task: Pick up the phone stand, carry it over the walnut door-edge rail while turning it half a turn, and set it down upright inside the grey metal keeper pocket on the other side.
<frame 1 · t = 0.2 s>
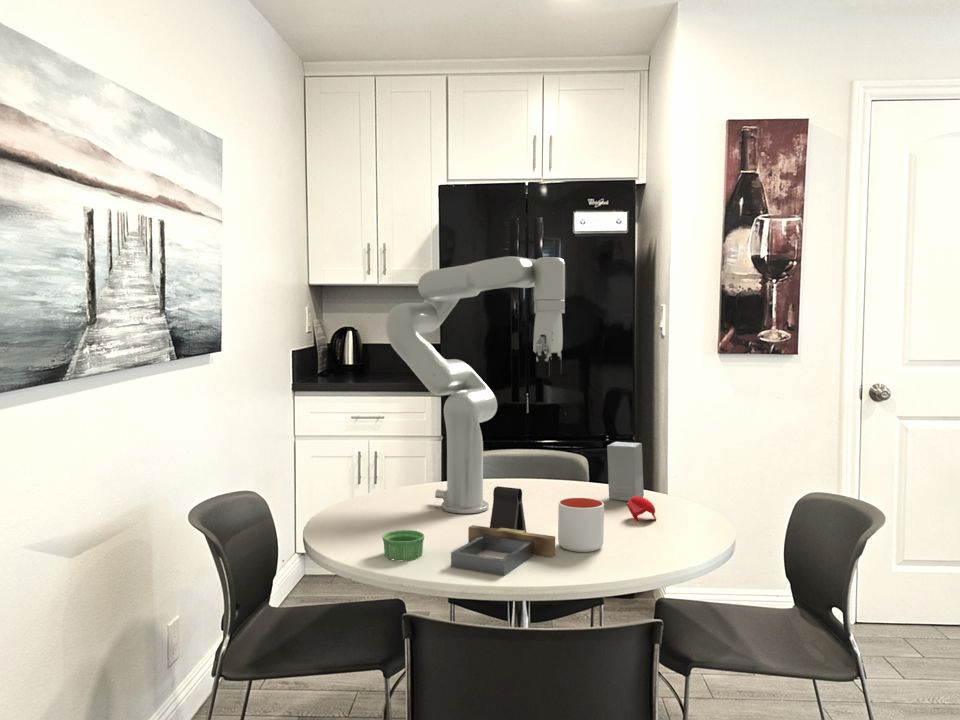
hand: (549, 376, 197), 36 cm above the table, tool pointing down, fingers open, 9 cm apart
skincare box: (625, 499, 222), on the table
ramekin: (403, 556, 170), on the table
door edge rail: (510, 549, 174), on the table
cup: (580, 547, 176), on the table
keeper: (493, 561, 166), on the table
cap: (641, 520, 199), on the table
phone stand: (507, 540, 182), on the table
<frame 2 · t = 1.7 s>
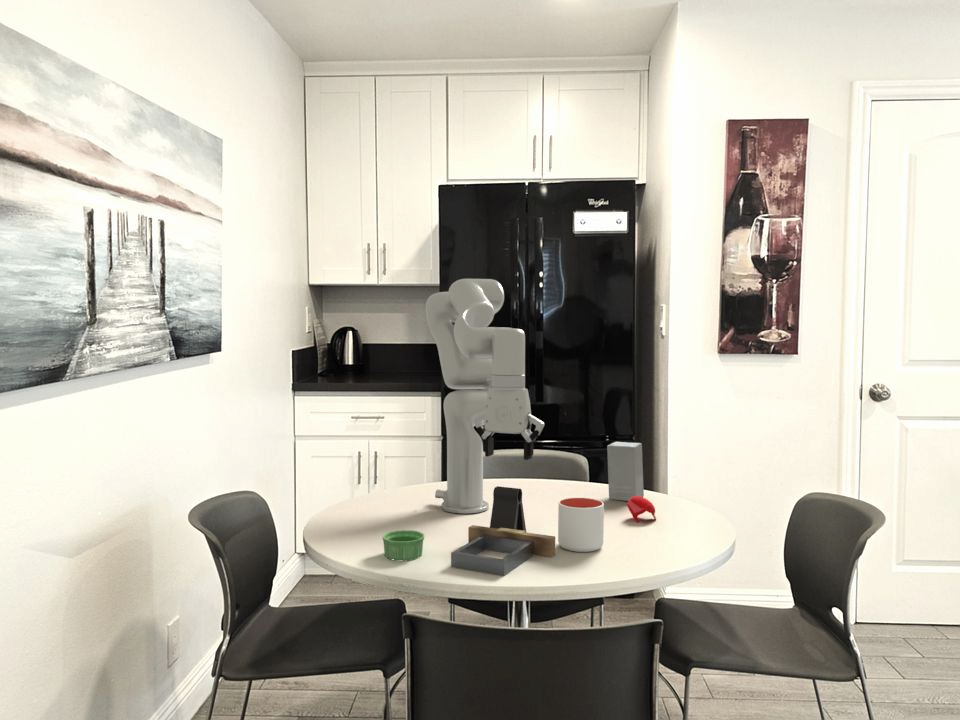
hand: (508, 457, 181), 19 cm above the table, tool pointing down, fingers open, 9 cm apart
nothing on the table moved.
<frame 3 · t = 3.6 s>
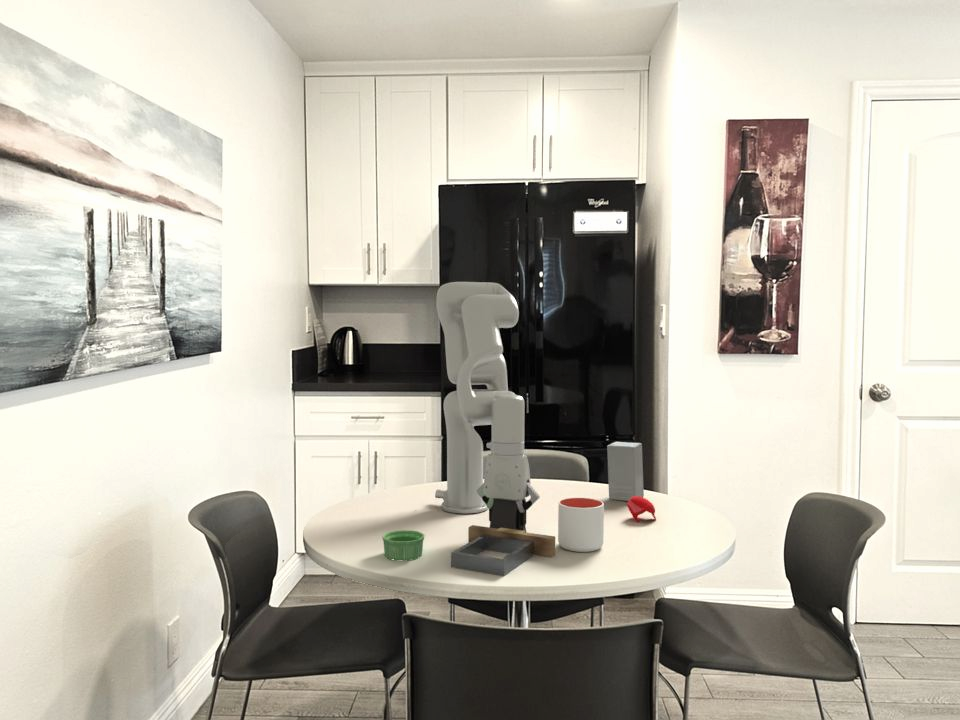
hand: (507, 525, 182), 3 cm above the table, tool pointing down, fingers closed on phone stand, 6 cm apart
phone stand: (507, 540, 182), on the table, touching gripper
everything else where it was.
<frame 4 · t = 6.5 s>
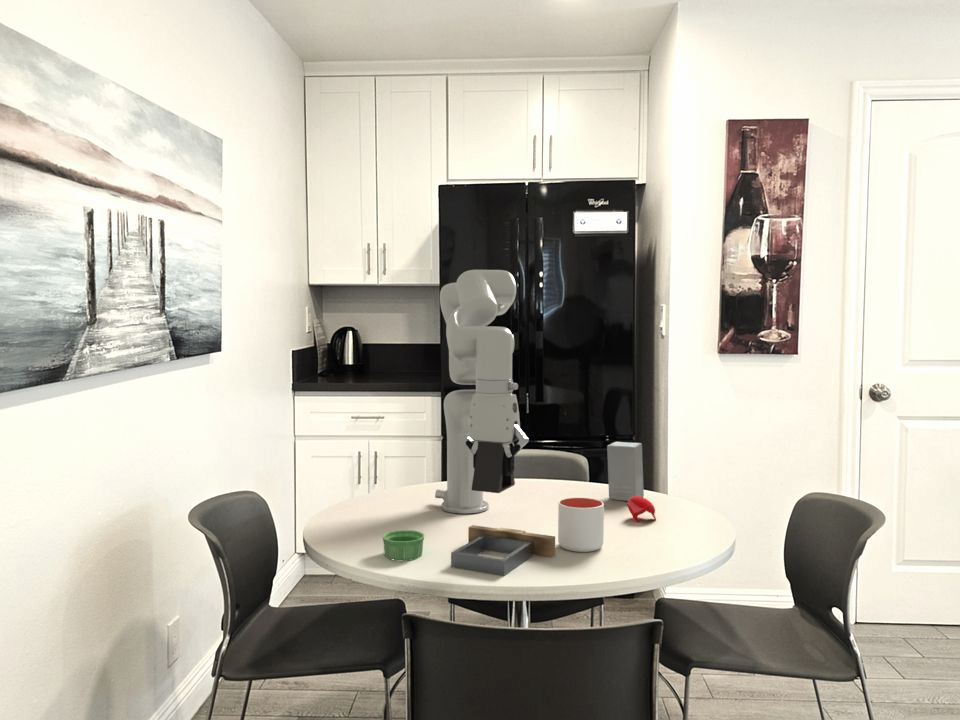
hand: (493, 472, 165), 19 cm above the table, tool pointing down, fingers closed on phone stand, 6 cm apart
phone stand: (493, 488, 165), point 15 cm above the table, touching gripper
everything else where it was.
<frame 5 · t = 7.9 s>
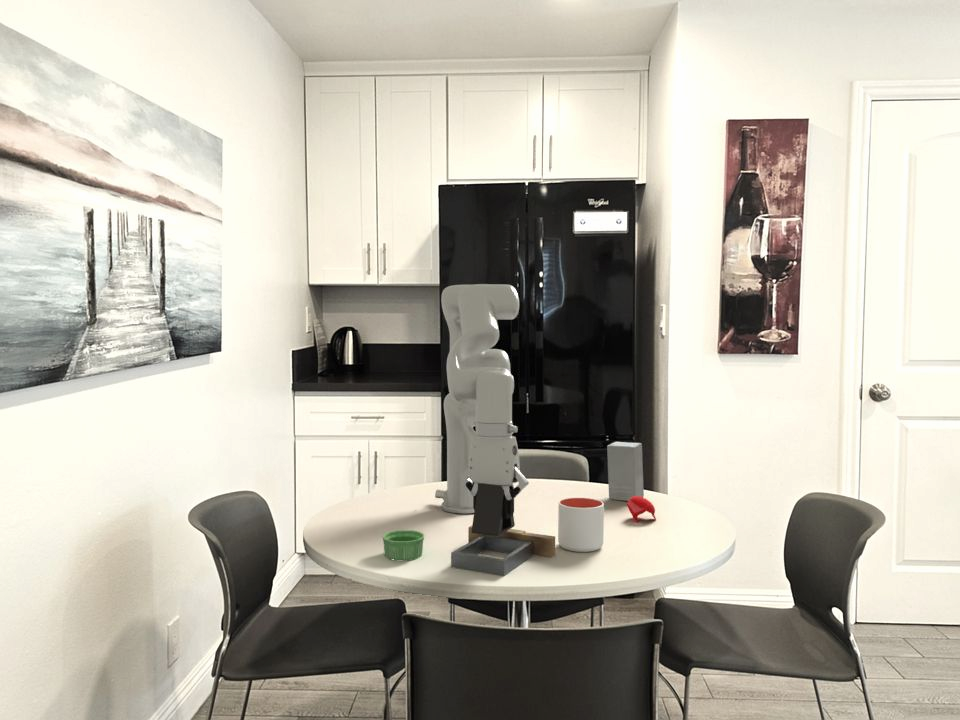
hand: (493, 514, 165), 10 cm above the table, tool pointing down, fingers closed on phone stand, 6 cm apart
phone stand: (493, 530, 165), point 7 cm above the table, touching gripper
everything else where it was.
when the fingers open (5 cm above the table, at t = 9.3 s): phone stand drops 2 cm, resting in keeper.
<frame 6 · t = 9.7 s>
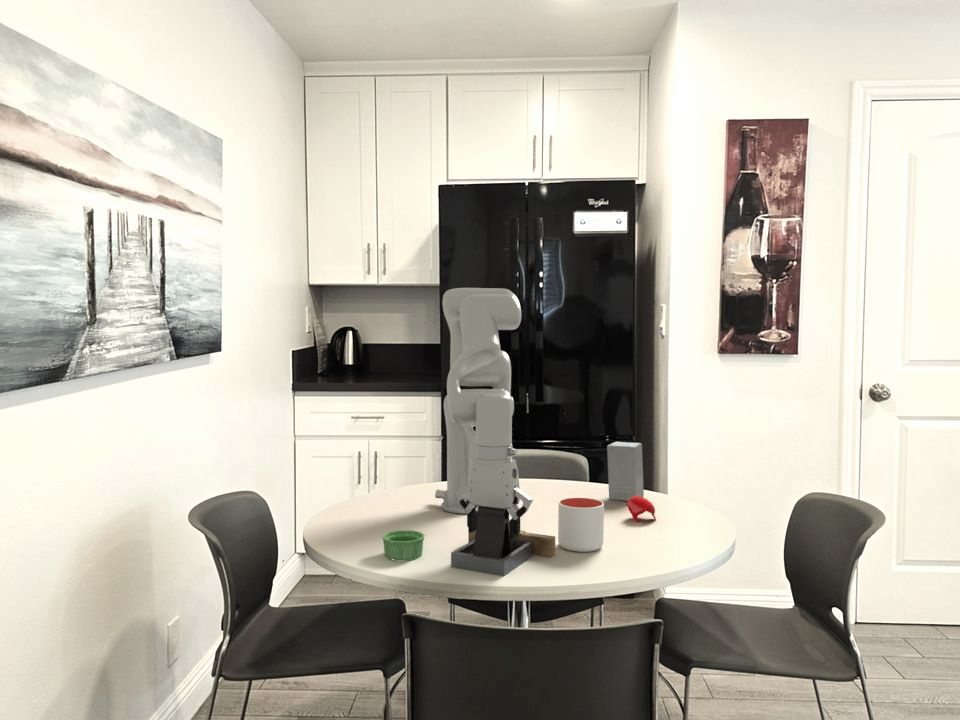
hand: (493, 533, 166), 6 cm above the table, tool pointing down, fingers open, 9 cm apart
phone stand: (493, 561, 166), resting in keeper
everything else where it was.
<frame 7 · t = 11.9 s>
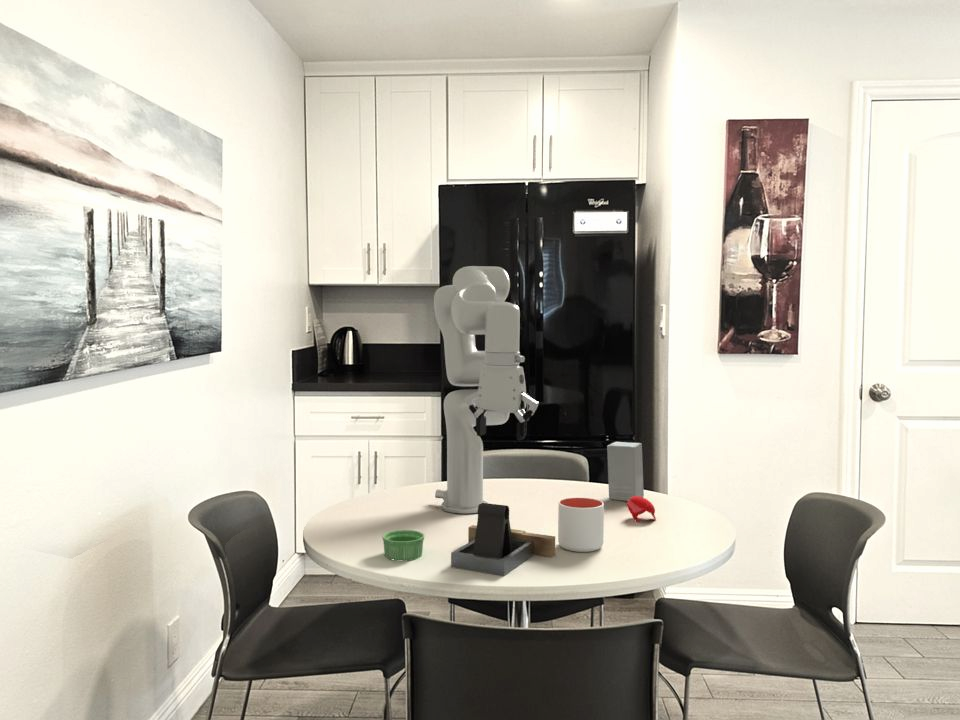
hand: (500, 437, 174), 25 cm above the table, tool pointing down, fingers open, 9 cm apart
nothing on the table moved.
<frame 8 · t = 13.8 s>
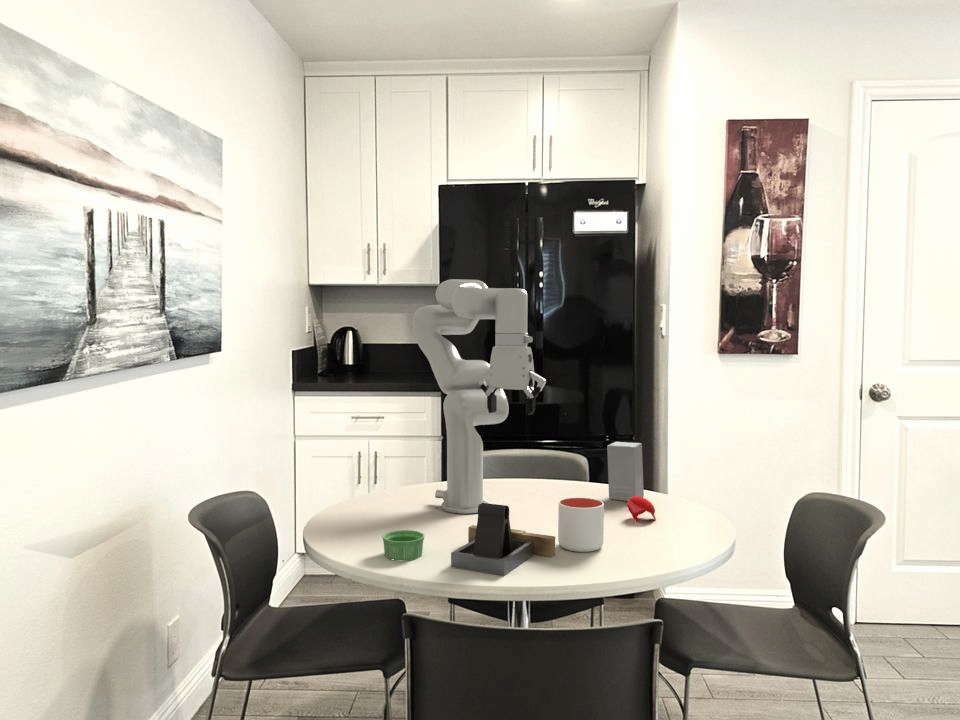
hand: (510, 413, 187), 28 cm above the table, tool pointing down, fingers open, 9 cm apart
nothing on the table moved.
at the end: phone stand inside the target area on the keeper (0.2 cm from its centre), point 0.0 cm above the keeper's base; phone stand tilted 0°; the gripper is holding nothing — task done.
